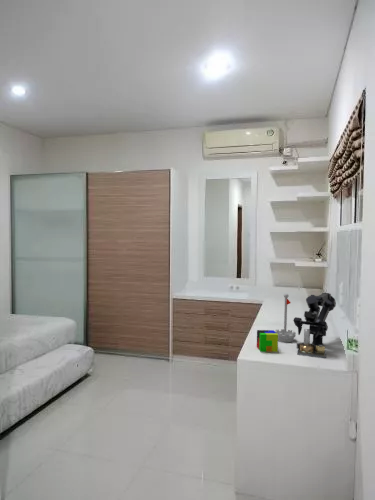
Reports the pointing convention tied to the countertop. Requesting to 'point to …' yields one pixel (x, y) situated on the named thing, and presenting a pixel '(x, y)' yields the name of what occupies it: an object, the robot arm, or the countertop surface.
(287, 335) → the flag stand
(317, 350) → the carrier plate
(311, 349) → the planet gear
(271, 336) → the puzzle toy
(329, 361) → the countertop surface
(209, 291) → the countertop surface
